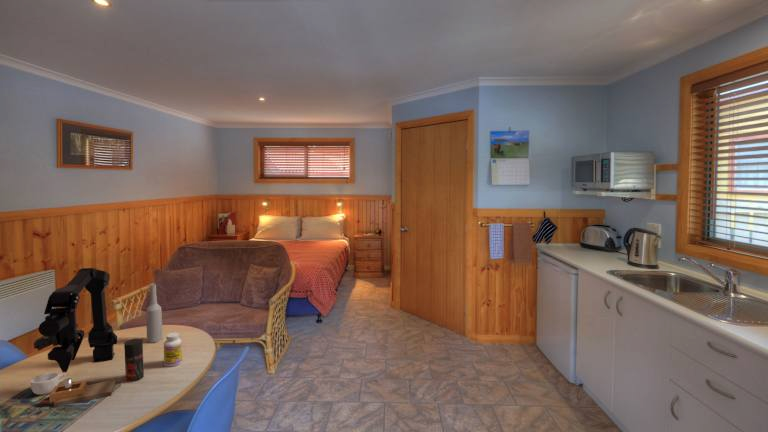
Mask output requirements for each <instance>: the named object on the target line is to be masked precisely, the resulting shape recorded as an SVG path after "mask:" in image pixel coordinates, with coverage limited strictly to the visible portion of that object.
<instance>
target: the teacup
mask: <svg viewBox="0 0 768 432" xmlns="http://www.w3.org/2000/svg"><path fill="white" fill-rule="evenodd" d="M62 375H63V377H62V378H61V376H62ZM66 376H67V375H66V374H65V372H64V373H63V372H62V373H60V372H57V371H50V372H46V373H42V374H39V375H37V376H35V377H32V378H31V379H30V382H29V383H30V389H31V391H32V392H33V393H34V394H35V395H39V396H40V395H46V394H50V393H51V392H52V390H53V389H54V387H55V386H59V384H60V383H61V382H62V381H63V380H65V378H66Z"/></svg>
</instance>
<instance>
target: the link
mask: <svg viewBox="0 0 768 432" xmlns="http://www.w3.org/2000/svg"><path fill="white" fill-rule="evenodd" d="M87 385H88V383H87V380H82V381H76V382H72V389H70V390H65V384H60V385H59V384H58V386H55V387H54V389H53V390H52V392H50V393H49V396H48V397H49V402H55V401H56V400H61V399H66V398H71V397H76V396H81V395H83V394H84V392H85V390H86V388H87Z"/></svg>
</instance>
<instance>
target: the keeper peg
mask: <svg viewBox="0 0 768 432" xmlns="http://www.w3.org/2000/svg"><path fill="white" fill-rule="evenodd" d="M63 380H64V381H63V382H64V384H63V385H65V390H70V389H72V383H73V379H72V377H69V378H68V377H67V378H66V379H65V378H64V379H63Z"/></svg>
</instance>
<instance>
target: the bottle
mask: <svg viewBox="0 0 768 432" xmlns="http://www.w3.org/2000/svg"><path fill="white" fill-rule="evenodd" d="M149 289H150V290H149V292H150V293H149V295H150V296H149V298H150V300H149V305H148V306H147V307H146V310H145V313H146V314H145V315H146V317H145V319H146V343H147V344H155V343H154V342H156V343H159V342H158V341H160V340H161V341H163V340H162V339H164V337H163V334H164V333H163V316H162V315H163V314H162V312H163V311H162V306H161V305H160V304H158V298H157V284H156V283H151V284H149ZM161 341H160V342H161Z"/></svg>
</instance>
